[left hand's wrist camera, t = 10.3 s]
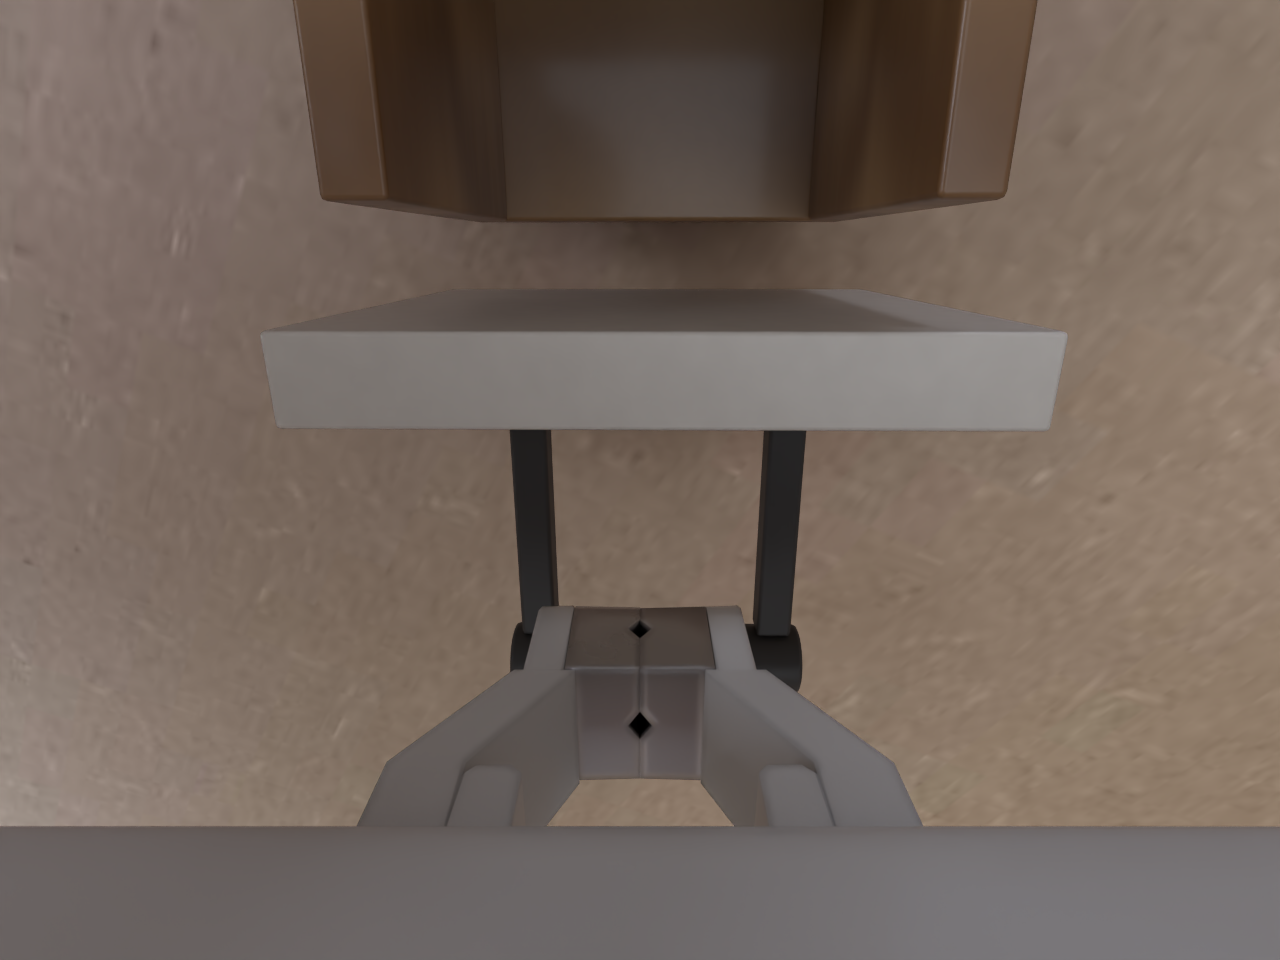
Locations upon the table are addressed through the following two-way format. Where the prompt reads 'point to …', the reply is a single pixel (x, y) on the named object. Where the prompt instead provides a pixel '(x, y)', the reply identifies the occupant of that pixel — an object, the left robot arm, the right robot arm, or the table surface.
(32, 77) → the table surface
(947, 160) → the drawer
